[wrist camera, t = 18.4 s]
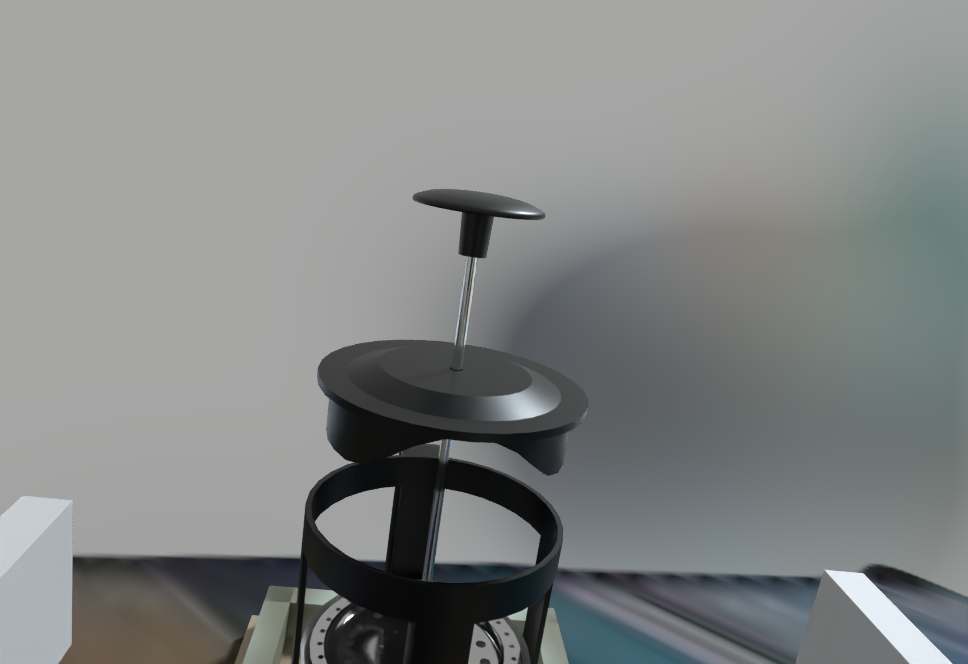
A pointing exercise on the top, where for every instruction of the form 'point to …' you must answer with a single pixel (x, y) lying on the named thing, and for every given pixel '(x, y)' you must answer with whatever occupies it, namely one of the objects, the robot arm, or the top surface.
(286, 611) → the tray
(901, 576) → the top surface
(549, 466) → the french press
